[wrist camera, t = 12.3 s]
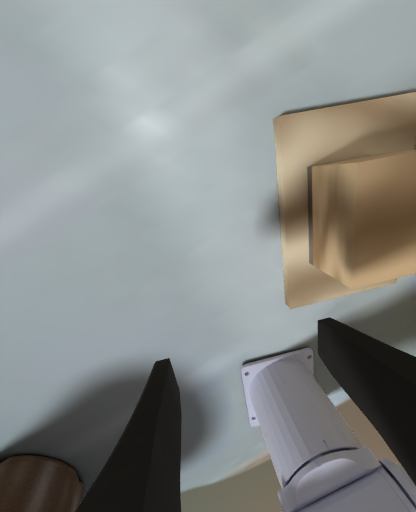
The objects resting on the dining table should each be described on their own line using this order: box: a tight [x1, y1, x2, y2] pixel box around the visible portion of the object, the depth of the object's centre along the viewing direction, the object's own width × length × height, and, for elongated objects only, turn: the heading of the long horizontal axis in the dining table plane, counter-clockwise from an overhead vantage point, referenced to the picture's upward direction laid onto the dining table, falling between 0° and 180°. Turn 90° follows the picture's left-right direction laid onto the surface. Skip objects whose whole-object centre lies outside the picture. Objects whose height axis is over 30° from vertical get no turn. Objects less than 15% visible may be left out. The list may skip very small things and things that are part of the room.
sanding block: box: [307, 149, 416, 289], centre depth 16 cm, size 8×5×5 cm, turn 10°
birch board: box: [273, 92, 416, 309], centre depth 19 cm, size 16×11×1 cm
